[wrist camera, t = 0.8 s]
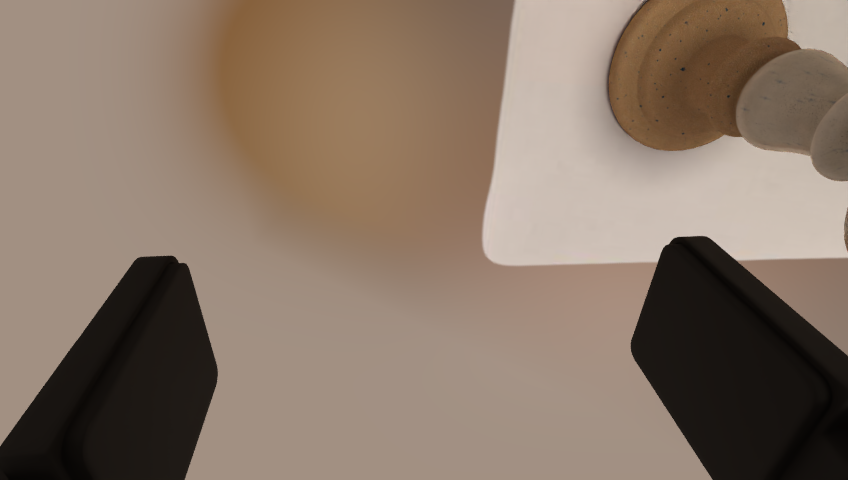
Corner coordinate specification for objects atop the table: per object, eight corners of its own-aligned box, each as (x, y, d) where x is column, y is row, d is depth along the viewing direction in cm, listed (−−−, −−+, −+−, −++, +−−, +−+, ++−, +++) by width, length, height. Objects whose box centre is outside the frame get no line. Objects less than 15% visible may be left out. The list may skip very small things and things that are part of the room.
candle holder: (812, -8, 33) (1302, 47, 16) (716, 159, 39) (993, 329, 22) (656, -57, 30) (1039, -57, 13) (579, 129, 36) (772, 296, 19)
